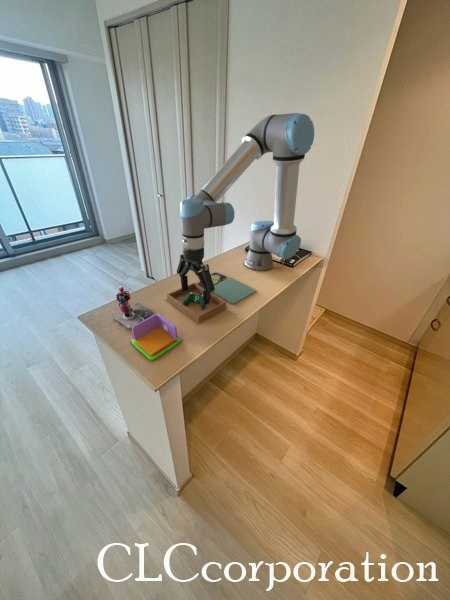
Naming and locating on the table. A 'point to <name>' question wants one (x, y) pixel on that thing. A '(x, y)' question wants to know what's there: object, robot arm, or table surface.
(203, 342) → the table surface
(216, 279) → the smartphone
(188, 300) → the gaming controller
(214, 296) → the box
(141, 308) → the statue
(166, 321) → the miniature room corner
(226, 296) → the towel
